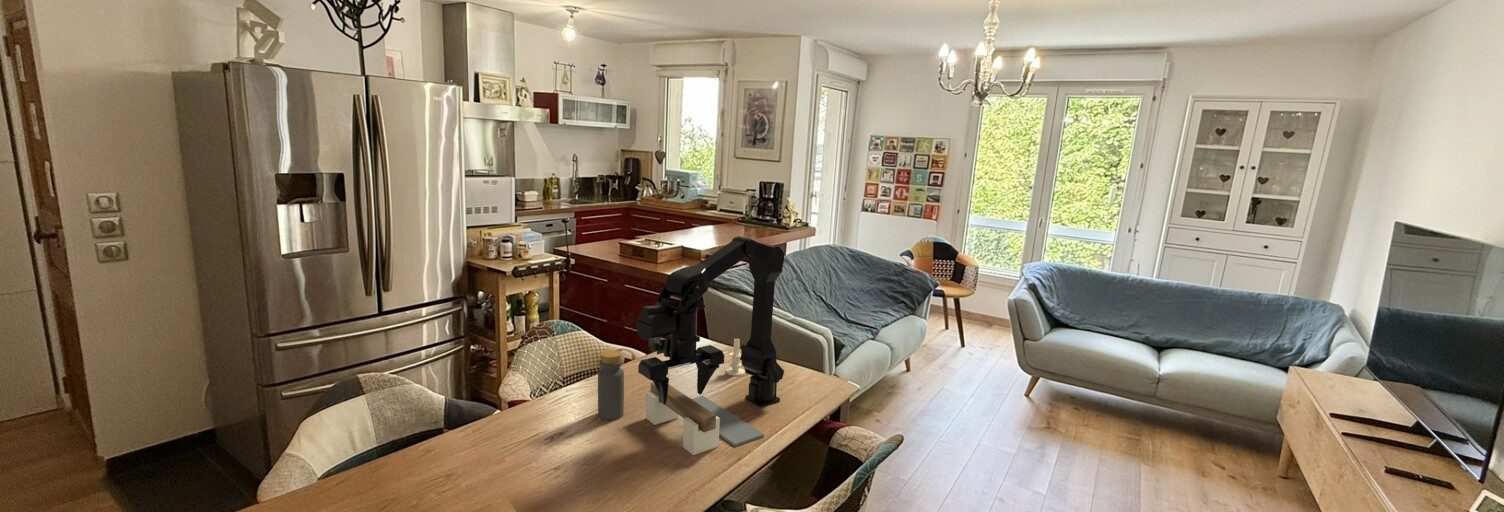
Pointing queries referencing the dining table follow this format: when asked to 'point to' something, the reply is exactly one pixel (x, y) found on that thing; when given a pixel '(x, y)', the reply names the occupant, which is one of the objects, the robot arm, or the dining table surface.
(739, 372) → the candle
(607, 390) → the bottle
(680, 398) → the rail
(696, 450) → the post
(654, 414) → the post
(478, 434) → the dining table surface
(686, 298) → the robot arm
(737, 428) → the mat
